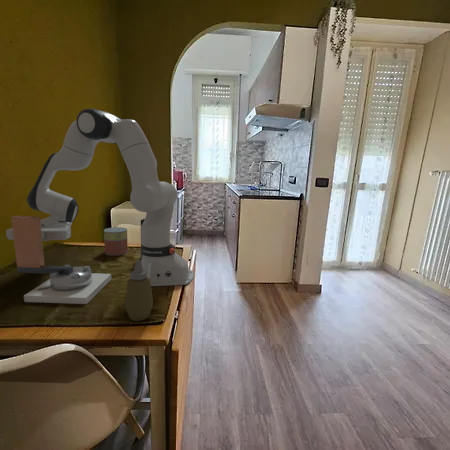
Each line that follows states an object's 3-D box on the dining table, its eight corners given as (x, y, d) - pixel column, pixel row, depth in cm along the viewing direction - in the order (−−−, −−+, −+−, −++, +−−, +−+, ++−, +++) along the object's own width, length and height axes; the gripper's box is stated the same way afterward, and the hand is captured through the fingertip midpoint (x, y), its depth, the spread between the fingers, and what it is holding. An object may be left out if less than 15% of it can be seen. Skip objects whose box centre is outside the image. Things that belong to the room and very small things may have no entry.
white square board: (111, 279, 107) (111, 273, 106) (86, 304, 87) (86, 297, 86) (60, 277, 106) (60, 271, 106) (24, 301, 87) (23, 294, 86)
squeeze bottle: (155, 309, 86) (155, 256, 82) (149, 324, 78) (149, 265, 74) (130, 309, 85) (128, 255, 82) (121, 323, 77) (119, 264, 74)
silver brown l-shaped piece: (98, 276, 103) (95, 216, 98) (80, 292, 90) (75, 223, 85) (34, 274, 102) (27, 213, 97) (7, 289, 89) (-2, 220, 85)
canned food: (110, 248, 145) (109, 226, 143) (131, 249, 145) (130, 227, 142) (100, 254, 134) (99, 231, 132) (122, 256, 134) (121, 232, 131)
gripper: (17, 221, 105) (-6, 229, 92) (73, 222, 109) (59, 230, 95) (19, 236, 106) (-4, 247, 93) (75, 237, 110) (60, 247, 97)
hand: (28, 238), depth 94 cm, fingers closed
